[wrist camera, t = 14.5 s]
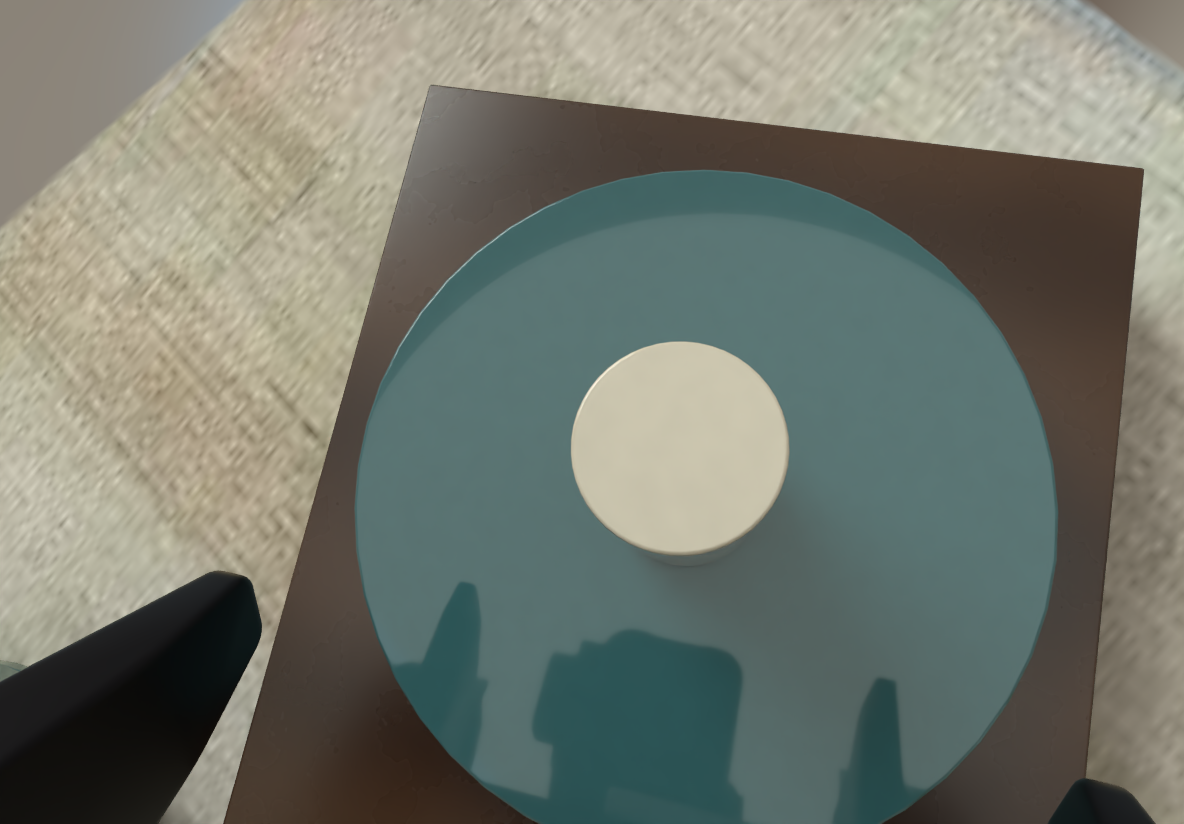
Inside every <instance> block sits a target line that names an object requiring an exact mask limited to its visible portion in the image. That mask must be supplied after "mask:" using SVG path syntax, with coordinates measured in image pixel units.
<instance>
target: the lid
mask: <svg viewBox="0 0 1184 824" xmlns="http://www.w3.org/2000/svg"><path fill="white" fill-rule="evenodd" d="M355 530H356V552H357V558H358V564H359V570H360V575H361V581H362V587H363V593H364V597H365V601H366V604H367V607H368V610H369V614H370V617H371V620H372V623H373V627H374V630H375V633H376V636H377V639H378V642H379V644H380V646H381V648H382V650H383V653H384V655H385V657H386V659H387V661H388V664H389V666H390V668H391V670H392V672H393V675H394V677H395V679H396V681H397V682H398V684H399V686H400V687H401V689H402V691H403V692H404V694H405V695H406V697H407V699H408V700H409V702H410V703H411V705H412V707H413V708H414V710H415V711H416V713H417V715H418V716H419V718H420V719H421V721H422V722H423V723H424V724H425V726H426V727H427V728H428V729H429V730H430V732H431V733H432V734H433V735H434V737H435V738H436V739H437V740H438V741H439V743H440V744H441V745H442V746H443V748H444V749H445V750H446V751H447V752H448V754H449V755H450V756H451V757H452V758H453V759H454V760H455V761H456V762H457V763H459V764H460V765H461V766H462V767H463V768H464V769H465V770H466V771H467V772H468V773H469V774H470V775H471V776H472V777H474V778H475V779H476V780H477V781H478V782H479V783H480V784H481V785H482V786H483V787H484V788H485V789H487V790H488V791H490V792H491V793H492V794H494V795H495V796H497V797H498V798H499V799H501V800H502V801H504V802H505V803H507V804H508V805H509V806H511V807H512V808H514V809H515V810H516V811H518V812H519V813H521V814H522V815H523V816H525V817H527V818H529V819H531V820H533V821H535V822H536V823H538V824H882V823H884V822H886V821H888V820H889V819H891V818H893V817H895V816H897V815H898V814H900V813H902V812H904V811H905V810H907V809H908V808H909V807H911V806H912V805H913V804H914V803H916V802H917V801H918V800H920V799H921V798H922V797H923V796H925V795H926V794H927V793H928V792H930V791H931V790H932V789H934V788H935V787H936V786H937V785H939V784H940V783H941V782H943V781H944V780H945V779H946V778H947V777H948V776H949V775H950V774H951V773H952V772H953V771H954V770H955V769H956V768H957V767H958V766H959V765H960V764H961V762H962V761H963V760H964V759H965V758H966V757H967V756H968V755H969V754H970V753H971V752H972V751H973V750H974V749H975V748H976V747H977V746H978V745H979V744H980V743H981V741H982V740H983V738H984V737H985V735H986V734H987V733H988V731H989V730H990V728H991V727H992V726H993V724H994V723H995V721H996V720H997V718H998V717H999V716H1000V714H1001V713H1002V711H1003V710H1004V709H1005V707H1006V706H1007V704H1008V703H1009V701H1010V700H1011V698H1012V696H1013V694H1014V692H1015V690H1016V688H1017V686H1018V684H1019V682H1020V680H1021V678H1022V676H1023V674H1024V672H1025V670H1026V668H1027V666H1028V664H1029V662H1030V660H1031V658H1032V656H1033V653H1034V650H1035V647H1036V644H1037V641H1038V638H1039V635H1040V632H1041V629H1042V626H1043V623H1044V620H1045V617H1046V614H1047V611H1048V606H1049V600H1050V595H1051V589H1052V584H1053V578H1054V573H1055V567H1056V562H1057V536H1058V504H1057V494H1056V485H1055V475H1054V466H1053V461H1052V457H1051V452H1050V448H1049V444H1048V440H1047V436H1046V432H1045V428H1044V424H1043V420H1042V416H1041V414H1040V411H1039V409H1038V406H1037V404H1036V401H1035V399H1034V396H1033V394H1032V391H1031V389H1030V386H1029V384H1028V381H1027V379H1026V376H1025V374H1024V372H1023V370H1022V368H1021V366H1020V365H1019V363H1018V361H1017V359H1016V357H1015V356H1014V354H1013V352H1012V350H1011V348H1010V347H1009V345H1008V343H1007V341H1006V339H1005V338H1004V336H1003V334H1002V332H1001V331H1000V330H999V328H998V327H997V326H996V324H995V323H994V322H993V320H992V319H991V318H990V316H989V315H988V314H987V312H986V311H985V310H984V308H983V307H982V306H981V304H980V303H979V302H978V300H977V299H976V298H975V296H974V295H973V294H972V293H971V292H970V291H969V290H968V289H967V288H966V287H965V286H964V285H963V284H962V283H961V282H960V281H959V280H958V279H957V277H956V276H955V275H954V274H953V273H952V272H951V271H950V270H949V269H948V268H947V267H946V266H945V265H944V264H943V263H942V262H941V261H939V260H938V259H937V258H936V257H934V256H933V255H932V254H931V253H929V252H928V251H927V250H926V249H924V248H923V247H922V246H921V245H919V244H918V243H917V242H916V241H914V240H913V239H912V238H911V237H909V236H908V235H907V234H905V233H903V232H902V231H900V230H899V229H897V228H895V227H894V226H892V225H890V224H889V223H887V222H886V221H884V220H882V219H881V218H879V217H877V216H876V215H874V214H873V213H871V212H869V211H867V210H865V209H863V208H860V207H858V206H856V205H854V204H852V203H849V202H847V201H845V200H843V199H841V198H839V197H836V196H834V195H832V194H830V193H827V192H823V191H820V190H817V189H814V188H811V187H808V186H804V185H801V184H798V183H795V182H792V181H789V180H783V179H778V178H773V177H767V176H762V175H757V174H752V173H745V172H730V171H716V170H690V171H671V172H659V173H654V174H648V175H642V176H636V177H630V178H624V179H620V180H617V181H613V182H610V183H606V184H603V185H600V186H596V187H593V188H589V189H586V190H583V191H580V192H578V193H576V194H573V195H571V196H569V197H566V198H564V199H562V200H559V201H557V202H555V203H552V204H550V205H548V206H545V207H543V208H542V209H540V210H538V211H536V212H535V213H533V214H531V215H530V216H528V217H526V218H524V219H523V220H521V221H519V222H517V223H516V224H514V225H512V226H511V227H509V228H507V229H506V230H505V231H503V232H502V233H501V234H499V235H498V236H497V237H495V238H494V239H493V240H491V241H490V242H489V243H487V244H486V245H485V246H483V247H482V248H481V249H479V250H478V251H477V252H476V253H475V254H473V255H472V256H471V257H470V258H469V259H468V260H467V261H466V262H465V263H464V264H463V265H462V266H461V267H460V268H459V269H458V270H457V271H456V272H455V273H454V274H453V275H451V276H450V277H449V278H448V279H447V280H446V281H445V283H444V284H443V285H442V286H441V287H440V289H439V290H438V291H437V292H436V294H435V295H434V296H433V297H432V298H431V300H430V301H429V302H428V303H427V304H426V306H425V307H424V308H423V309H422V311H421V312H420V313H419V315H418V316H417V318H416V319H415V321H414V323H413V324H412V326H411V327H410V329H409V330H408V332H407V334H406V335H405V337H404V338H403V340H402V341H401V343H400V344H399V346H398V348H397V350H396V352H395V354H394V356H393V358H392V360H391V362H390V365H389V367H388V369H387V371H386V373H385V375H384V377H383V379H382V381H381V383H380V386H379V389H378V392H377V395H376V398H375V401H374V403H373V406H372V409H371V412H370V415H369V418H368V421H367V424H366V429H365V434H364V439H363V444H362V448H361V453H360V458H359V463H358V471H357V484H356V496H355Z"/></svg>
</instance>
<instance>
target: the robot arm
mask: <svg viewBox="0 0 1184 824" xmlns="http://www.w3.org/2000/svg"><path fill="white" fill-rule="evenodd" d="M261 632H262V622H261V618H260V614H259V610H258V605H257V601H256V597H255V593H254V589H253V585H252V583H251V581H250V580H249V579H248V578H247V577H245V576H242V575H238V574H234V573H229V572H225V571H213V572H209V573H207V574H205V575H203V576H201V577H199V578H197V579H195V580H193V581H192V582H190V583H188V584H186V585H184V586H182V587H180V588H178V589H176V590H174V591H172V592H170V593H169V594H167V595H165V596H163V597H161V598H159V599H157V600H155V601H153V602H151V603H149V604H148V605H146V606H144V607H142V608H140V609H138V610H136V611H134V612H132V613H130V614H128V615H126V616H125V617H123V618H121V619H119V620H117V621H115V622H113V623H111V624H109V625H107V626H105V627H103V628H102V629H100V630H98V631H96V632H94V633H92V634H90V635H88V636H86V637H84V638H82V639H81V640H79V641H77V642H75V643H73V644H71V645H69V646H67V647H65V648H63V649H61V650H59V651H58V652H56V653H54V654H52V655H50V656H48V657H46V658H44V659H42V660H40V661H38V662H36V663H35V664H33V665H31V666H29V667H27V668H25V669H23V670H21V671H19V672H17V673H15V674H13V675H12V676H10V677H8V678H6V679H4V680H2V681H0V824H158V822H159V821H160V819H161V817H162V816H163V814H164V813H165V811H166V810H167V808H168V807H169V805H170V804H171V802H172V801H173V799H174V797H175V796H176V794H177V793H178V791H179V790H180V788H181V787H182V785H183V784H184V782H185V780H186V779H187V777H188V775H189V774H190V772H191V771H192V769H193V767H194V766H195V764H196V762H197V761H198V759H199V757H200V755H201V753H202V752H203V750H204V748H205V746H206V744H207V742H208V740H209V739H210V737H211V735H212V733H213V731H214V729H215V727H216V725H217V723H218V721H219V719H220V717H221V715H222V713H223V711H224V710H225V708H226V706H227V704H228V702H229V700H230V698H231V696H232V694H233V692H234V690H235V688H236V686H237V684H238V682H239V681H240V679H241V677H242V675H243V673H244V671H245V669H246V667H247V665H248V663H249V661H250V659H251V657H252V655H253V654H254V652H255V650H256V648H257V645H258V643H259V640H260V637H261ZM1048 824H1156V823H1155V822H1154V821H1153V820H1152V818H1151V817H1150V816H1149V815H1148V813H1147V812H1146V811H1145V810H1144V808H1143V807H1142V806H1141V805H1140V803H1139V802H1138V801H1137V800H1136V798H1135V797H1134V796H1133V795H1132V794H1131V793H1129V792H1128V791H1127V790H1125V789H1124V788H1122V787H1119V786H1116V785H1112V784H1108V783H1104V782H1099V781H1095V780H1091V779H1086V778H1082V779H1079V780H1077V781H1075V782H1074V784H1073V785H1072V786H1071V788H1070V789H1069V791H1068V792H1067V794H1066V795H1065V797H1064V798H1063V800H1062V801H1061V803H1060V805H1059V806H1058V808H1057V809H1056V811H1055V812H1054V814H1053V815H1052V817H1051V818H1050V820H1049V822H1048Z"/></svg>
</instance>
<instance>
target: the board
mask: <svg viewBox="0 0 1184 824" xmlns="http://www.w3.org/2000/svg"><path fill="white" fill-rule="evenodd" d="M690 170H716V171H730V172H745V173H752V174H757V175H762V176H767V177H773V178H778V179H783V180H789V181H792V182H795V183H798V184H801V185H804V186H808V187H811V188H814V189H817V190H820V191H823V192H827V193H830V194H832V195H834V196H836V197H839V198H841V199H843V200H845V201H847V202H849V203H852V204H854V205H856V206H858V207H860V208H863V209H865V210H867V211H869V212H871V213H873V214H874V215H876V216H877V217H879V218H881V219H882V220H884V221H886V222H887V223H889V224H890V225H892V226H894V227H895V228H897V229H899V230H900V231H902V232H903V233H905V234H907V235H908V236H909V237H911V238H912V239H913V240H914V241H916V242H917V243H918V244H919V245H921V246H922V247H923V248H924V249H926V250H927V251H928V252H929V253H931V254H932V255H933V256H934V257H936V258H937V259H938V260H939V261H941V262H942V263H943V264H944V265H945V266H946V267H947V268H948V269H949V270H950V271H951V272H952V273H953V274H954V275H955V276H956V277H957V279H958V280H959V281H960V282H961V283H962V284H963V285H964V286H965V287H966V288H967V289H968V290H969V291H970V292H971V293H972V294H973V295H974V296H975V298H976V299H977V300H978V302H979V303H980V304H981V306H982V307H983V308H984V310H985V311H986V312H987V314H988V315H989V316H990V318H991V319H992V320H993V322H994V323H995V324H996V326H997V327H998V328H999V330H1000V331H1001V332H1002V334H1003V336H1004V338H1005V339H1006V341H1007V343H1008V345H1009V347H1010V348H1011V350H1012V352H1013V354H1014V356H1015V357H1016V359H1017V361H1018V363H1019V365H1020V366H1021V368H1022V370H1023V372H1024V374H1025V376H1026V379H1027V381H1028V384H1029V386H1030V389H1031V391H1032V394H1033V396H1034V399H1035V401H1036V404H1037V406H1038V409H1039V411H1040V414H1041V416H1042V420H1043V424H1044V428H1045V432H1046V436H1047V440H1048V444H1049V448H1050V452H1051V457H1052V461H1053V466H1054V475H1055V485H1056V494H1057V504H1058V536H1057V562H1056V567H1055V573H1054V578H1053V584H1052V589H1051V595H1050V600H1049V606H1048V611H1047V614H1046V617H1045V620H1044V623H1043V626H1042V629H1041V632H1040V635H1039V638H1038V641H1037V644H1036V647H1035V650H1034V653H1033V656H1032V658H1031V660H1030V662H1029V664H1028V666H1027V668H1026V670H1025V672H1024V674H1023V676H1022V678H1021V680H1020V682H1019V684H1018V686H1017V688H1016V690H1015V692H1014V694H1013V696H1012V698H1011V700H1010V701H1009V703H1008V704H1007V706H1006V707H1005V709H1004V710H1003V711H1002V713H1001V714H1000V716H999V717H998V718H997V720H996V721H995V723H994V724H993V726H992V727H991V728H990V730H989V731H988V733H987V734H986V735H985V737H984V738H983V740H982V741H981V743H980V744H979V745H978V746H977V747H976V748H975V749H974V750H973V751H972V752H971V753H970V754H969V755H968V756H967V757H966V758H965V759H964V760H963V761H962V762H961V764H960V765H959V766H958V767H957V768H956V769H955V770H954V771H953V772H952V773H951V774H950V775H949V776H948V777H947V778H946V779H945V780H944V781H943V782H941V783H940V784H939V785H937V786H936V787H935V788H934V789H932V790H931V791H930V792H928V793H927V794H926V795H925V796H923V797H922V798H921V799H920V800H918V801H917V802H916V803H914V804H913V805H912V806H911V807H909V808H908V809H907V810H905V811H904V812H902V813H900V814H898V815H897V816H895V817H893V818H891V819H889V820H888V821H886V822H884V823H882V824H1048V822H1049V820H1050V818H1051V817H1052V815H1053V814H1054V812H1055V811H1056V809H1057V808H1058V806H1059V805H1060V803H1061V801H1062V800H1063V798H1064V797H1065V795H1066V794H1067V792H1068V791H1069V789H1070V788H1071V786H1072V785H1073V784H1074V782H1075V781H1077V780H1079V779H1082V778H1085V777H1086V767H1087V756H1088V746H1089V736H1090V725H1091V715H1092V705H1093V694H1094V684H1095V674H1096V663H1097V653H1098V642H1099V632H1100V622H1101V611H1102V601H1103V591H1104V580H1105V570H1106V560H1107V549H1108V539H1109V528H1110V518H1111V508H1112V497H1113V487H1114V477H1115V466H1116V456H1117V446H1118V435H1119V425H1120V414H1121V404H1122V394H1123V383H1124V373H1125V363H1126V352H1127V342H1128V332H1129V321H1130V311H1131V300H1132V290H1133V280H1134V269H1135V259H1136V249H1137V238H1138V228H1139V218H1140V207H1141V197H1142V186H1143V176H1144V169H1142V168H1135V167H1126V166H1118V165H1109V164H1101V163H1092V162H1084V161H1075V160H1067V159H1058V158H1050V157H1041V156H1033V155H1024V154H1016V153H1007V152H999V151H990V150H982V149H973V148H965V147H956V146H948V145H939V144H931V143H922V142H914V141H905V140H897V139H888V138H880V137H871V136H863V135H854V134H846V133H837V132H829V131H820V130H812V129H803V128H795V127H786V126H778V125H769V124H761V123H752V122H744V121H735V120H727V119H718V118H710V117H701V116H693V115H684V114H676V113H667V112H659V111H650V110H642V109H633V108H625V107H616V106H608V105H599V104H591V103H582V102H574V101H565V100H557V99H548V98H540V97H531V96H523V95H514V94H506V93H497V92H489V91H480V90H472V89H463V88H455V87H446V86H438V85H430V87H429V91H428V94H427V98H426V101H425V105H424V108H423V112H422V116H421V119H420V123H419V126H418V130H417V133H416V137H415V141H414V144H413V148H412V151H411V155H410V158H409V162H408V166H407V169H406V173H405V176H404V180H403V183H402V187H401V191H400V194H399V198H398V201H397V205H396V208H395V212H394V216H393V219H392V223H391V226H390V230H389V233H388V237H387V241H386V244H385V248H384V251H383V255H382V258H381V262H380V266H379V269H378V273H377V276H376V280H375V283H374V287H373V291H372V294H371V298H370V301H369V305H368V308H367V312H366V316H365V319H364V323H363V326H362V330H361V333H360V337H359V341H358V344H357V348H356V351H355V355H354V358H353V362H352V366H351V369H350V373H349V376H348V380H347V384H346V387H345V391H344V394H343V398H342V401H341V405H340V409H339V412H338V416H337V419H336V423H335V426H334V430H333V434H332V437H331V441H330V444H329V448H328V451H327V455H326V459H325V462H324V466H323V469H322V473H321V476H320V480H319V484H318V487H317V491H316V494H315V498H314V501H313V505H312V509H311V512H310V516H309V519H308V523H307V526H306V530H305V534H304V537H303V541H302V544H301V548H300V551H299V555H298V559H297V562H296V566H295V569H294V573H293V576H292V580H291V584H290V587H289V591H288V594H287V598H286V601H285V605H284V609H283V612H282V616H281V619H280V623H279V626H278V630H277V634H276V637H275V641H274V644H273V648H272V651H271V655H270V659H269V662H268V666H267V669H266V673H265V676H264V680H263V684H262V687H261V691H260V694H259V698H258V701H257V705H256V709H255V712H254V716H253V719H252V723H251V726H250V730H249V734H248V737H247V741H246V744H245V748H244V751H243V755H242V759H241V762H240V766H239V769H238V773H237V777H236V780H235V784H234V787H233V791H232V794H231V798H230V802H229V805H228V809H227V812H226V816H225V819H224V823H223V824H538V823H536V822H535V821H533V820H531V819H529V818H527V817H525V816H523V815H522V814H521V813H519V812H518V811H516V810H515V809H514V808H512V807H511V806H509V805H508V804H507V803H505V802H504V801H502V800H501V799H499V798H498V797H497V796H495V795H494V794H492V793H491V792H490V791H488V790H487V789H485V788H484V787H483V786H482V785H481V784H480V783H479V782H478V781H477V780H476V779H475V778H474V777H472V776H471V775H470V774H469V773H468V772H467V771H466V770H465V769H464V768H463V767H462V766H461V765H460V764H459V763H457V762H456V761H455V760H454V759H453V758H452V757H451V756H450V755H449V754H448V752H447V751H446V750H445V749H444V748H443V746H442V745H441V744H440V743H439V741H438V740H437V739H436V738H435V737H434V735H433V734H432V733H431V732H430V730H429V729H428V728H427V727H426V726H425V724H424V723H423V722H422V721H421V719H420V718H419V716H418V715H417V713H416V711H415V710H414V708H413V707H412V705H411V703H410V702H409V700H408V699H407V697H406V695H405V694H404V692H403V691H402V689H401V687H400V686H399V684H398V682H397V681H396V679H395V677H394V675H393V672H392V670H391V668H390V666H389V664H388V661H387V659H386V657H385V655H384V653H383V650H382V648H381V646H380V644H379V642H378V639H377V636H376V633H375V630H374V627H373V623H372V620H371V617H370V614H369V610H368V607H367V604H366V601H365V597H364V593H363V587H362V581H361V575H360V570H359V564H358V558H357V552H356V530H355V496H356V484H357V471H358V463H359V458H360V453H361V448H362V444H363V439H364V434H365V429H366V424H367V421H368V418H369V415H370V412H371V409H372V406H373V403H374V401H375V398H376V395H377V392H378V389H379V386H380V383H381V381H382V379H383V377H384V375H385V373H386V371H387V369H388V367H389V365H390V362H391V360H392V358H393V356H394V354H395V352H396V350H397V348H398V346H399V344H400V343H401V341H402V340H403V338H404V337H405V335H406V334H407V332H408V330H409V329H410V327H411V326H412V324H413V323H414V321H415V319H416V318H417V316H418V315H419V313H420V312H421V311H422V309H423V308H424V307H425V306H426V304H427V303H428V302H429V301H430V300H431V298H432V297H433V296H434V295H435V294H436V292H437V291H438V290H439V289H440V287H441V286H442V285H443V284H444V283H445V281H446V280H447V279H448V278H449V277H450V276H451V275H453V274H454V273H455V272H456V271H457V270H458V269H459V268H460V267H461V266H462V265H463V264H464V263H465V262H466V261H467V260H468V259H469V258H470V257H471V256H472V255H473V254H475V253H476V252H477V251H478V250H479V249H481V248H482V247H483V246H485V245H486V244H487V243H489V242H490V241H491V240H493V239H494V238H495V237H497V236H498V235H499V234H501V233H502V232H503V231H505V230H506V229H507V228H509V227H511V226H512V225H514V224H516V223H517V222H519V221H521V220H523V219H524V218H526V217H528V216H530V215H531V214H533V213H535V212H536V211H538V210H540V209H542V208H543V207H545V206H548V205H550V204H552V203H555V202H557V201H559V200H562V199H564V198H566V197H569V196H571V195H573V194H576V193H578V192H580V191H583V190H586V189H589V188H593V187H596V186H600V185H603V184H606V183H610V182H613V181H617V180H620V179H624V178H630V177H636V176H642V175H648V174H654V173H659V172H671V171H690Z"/></svg>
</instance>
